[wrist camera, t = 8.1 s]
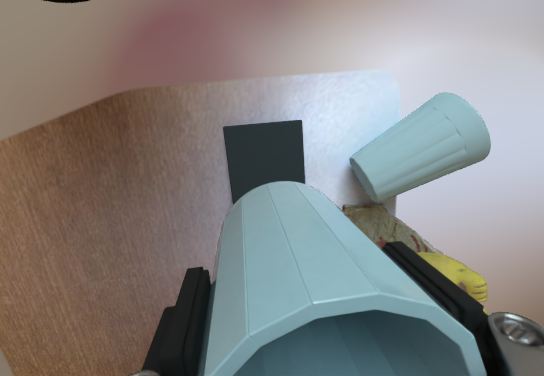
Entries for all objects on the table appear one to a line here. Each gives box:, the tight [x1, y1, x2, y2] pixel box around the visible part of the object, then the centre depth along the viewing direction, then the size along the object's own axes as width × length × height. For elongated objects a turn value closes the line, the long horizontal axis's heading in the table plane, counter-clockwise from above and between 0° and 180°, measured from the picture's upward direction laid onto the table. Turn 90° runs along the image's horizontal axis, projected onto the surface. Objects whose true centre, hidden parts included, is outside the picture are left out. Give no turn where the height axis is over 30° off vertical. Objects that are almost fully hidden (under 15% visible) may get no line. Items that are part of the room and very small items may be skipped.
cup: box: [350, 92, 491, 203], centre depth 27 cm, size 8×8×10 cm
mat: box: [223, 120, 305, 205], centre depth 29 cm, size 10×8×1 cm
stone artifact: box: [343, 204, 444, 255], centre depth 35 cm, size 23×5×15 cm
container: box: [197, 181, 487, 376], centre depth 10 cm, size 7×7×9 cm
